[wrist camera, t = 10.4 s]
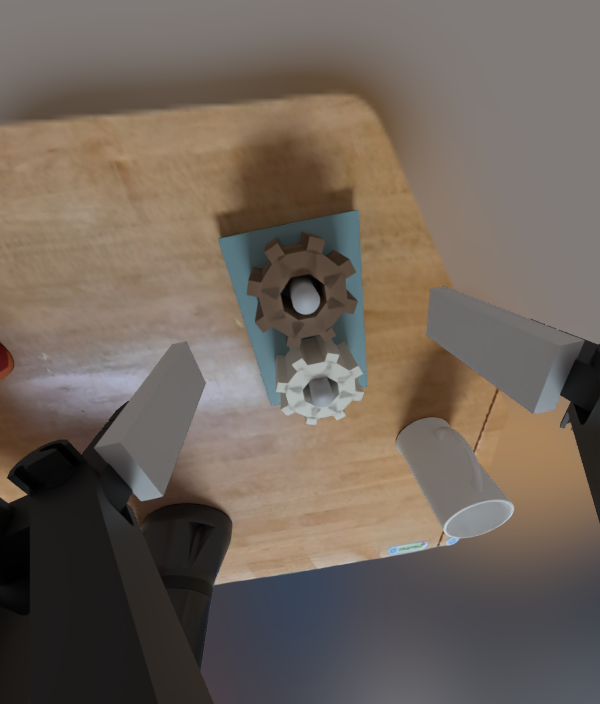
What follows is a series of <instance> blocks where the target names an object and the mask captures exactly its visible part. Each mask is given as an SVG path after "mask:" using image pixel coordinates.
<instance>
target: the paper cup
mask: <svg viewBox="0 0 600 704" xmlns="http://www.w3.org/2000/svg"><path fill="white" fill-rule="evenodd" d="M13 368H14V361H13V358H12V356H11V354H10V353H9V351H8V350H7V349H6V348H5V347H4V346H3V345H2V344H0V380H2V379H3V378H4V377H6V376H7V375H8V374H9V373H10V372H11V371H12V370H13Z"/></svg>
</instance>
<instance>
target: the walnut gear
mask: <svg viewBox="0 0 600 704" xmlns="http://www.w3.org/2000/svg"><path fill="white" fill-rule="evenodd" d="M324 243H325V240H324V239H322V238H321V237H319V236H317V235H315V234H311V233H307V232H302V234H301V239H300V243H296V244H291V245H286V246H282V245H281V244H280V242H279V240H278V239H277V237H275V238H274V239H272V240H271V241H270V242H268V243H267V244H266V246H265V252H264V253H265V254H266V256H267V257H268V259H269V260H268V261H267V263H266V265H265V266H264V268H263V269H261V268H256V267H253V268H252V271H251V274H250V276H249V279H248V286H247V295H249V296H254V297H259V300H260V301H259V302H258V304H257V310H256V317H255V324H256V325H257V326H258V327H259V329H260V330H261V331H262V332H263V333H264V332H265V331H267V330H268V329H270V328H272V327H273V328H275V329H277V330H278V331H280V332H282V333H284V334H285V338H286V346H291V347H298V348H299V347H300V342H301V338H305V337H310V336H315V335H320V336H321V337H322V338H323V340H324V341H325V342H327V341H328V340H330V339H332V338H333V337H335V336H336V334H335V332H334V330H333V328H332V326H333V325H334V323H335V322H336V321H337V319H338V318H339V317H340V316H341V314H342V313H343V312H344V313H350V314H354V312H355V309H356V306H357V303H358V301H357V300H356V299H355V297H354V296H353V295H352V294H351V293H350V292H349V291H348V290H347V289H346V279H347V278H348V277H350V276H351V275H353V274H354V273H356V271H355V269H354V267H353V265H352V263H351V261H350V259H349V258H347V257H345V256H344V255H342V254H340V253H338V252H337V251H335V250H334V251H332V252H331V253H329V254H328V255H326V256H325V255H324V254H322V252H323V248H324ZM306 274H310V275H312V276H313V277H315V278H316V285H317V286H316V287H315V289H316V291H317V293H318V295H319V297H320V304H319V306H318V308H317V309H316V311H314V312H313V313H311V314H301V313H299V312H297V311H296V310H295V308H294V307H293V303H292V299H290V298H289V297H287V296H285V295H284V294H282V290H283V288H284V287H285V285H286V284H287V282H288V281H289V279H290V278H292V277H297V276H301V275H306Z"/></svg>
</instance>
